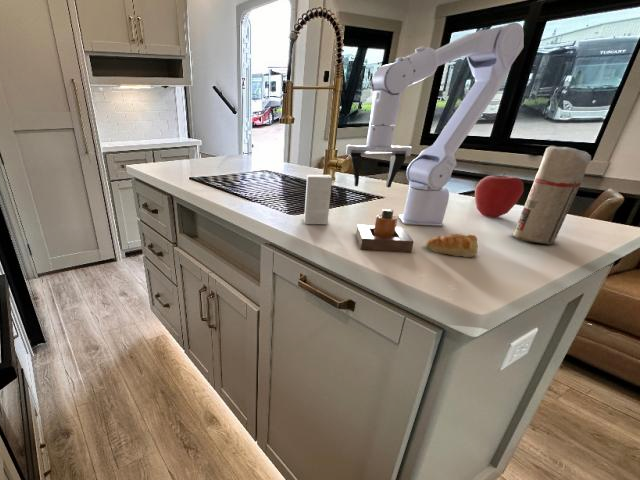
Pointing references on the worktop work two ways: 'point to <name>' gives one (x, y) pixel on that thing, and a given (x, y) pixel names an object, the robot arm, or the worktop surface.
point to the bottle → (385, 224)
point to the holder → (384, 240)
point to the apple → (497, 194)
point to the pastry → (454, 245)
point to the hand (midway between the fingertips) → (371, 186)
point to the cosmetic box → (317, 199)
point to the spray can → (552, 194)
